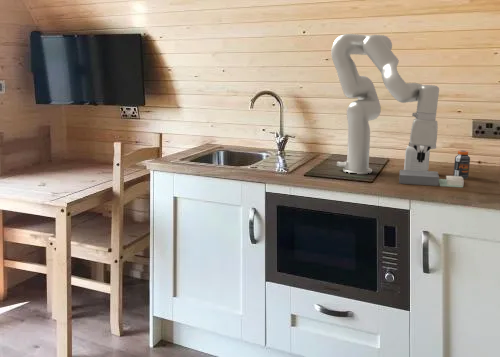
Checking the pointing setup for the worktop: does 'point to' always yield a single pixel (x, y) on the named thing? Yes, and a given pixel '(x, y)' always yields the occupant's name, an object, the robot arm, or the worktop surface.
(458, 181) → the tile
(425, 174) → the plate
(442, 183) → the mat
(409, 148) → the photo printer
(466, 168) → the pill bottle
